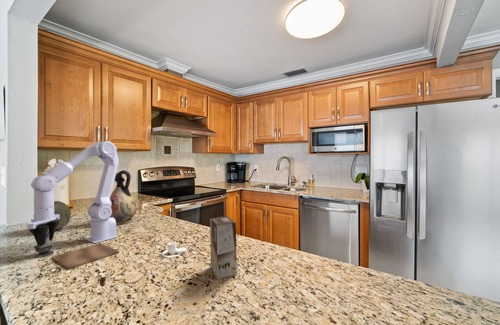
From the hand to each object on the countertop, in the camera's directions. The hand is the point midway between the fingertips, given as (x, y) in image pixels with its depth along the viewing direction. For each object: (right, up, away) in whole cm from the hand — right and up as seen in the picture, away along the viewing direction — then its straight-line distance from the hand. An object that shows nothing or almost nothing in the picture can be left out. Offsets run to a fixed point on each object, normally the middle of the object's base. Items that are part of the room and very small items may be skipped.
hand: (45, 242), depth 88 cm
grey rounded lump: (-23, -5, +30) cm, 38 cm away
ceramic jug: (+6, -4, +44) cm, 44 cm away
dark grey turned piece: (0, -5, 0) cm, 5 cm away
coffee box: (+70, -4, -15) cm, 71 cm away
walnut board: (+17, -4, -2) cm, 18 cm away
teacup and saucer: (+50, -4, -3) cm, 51 cm away
